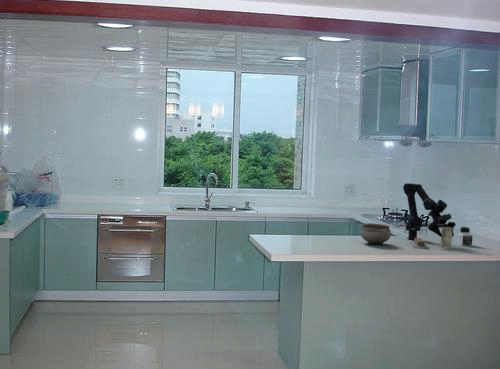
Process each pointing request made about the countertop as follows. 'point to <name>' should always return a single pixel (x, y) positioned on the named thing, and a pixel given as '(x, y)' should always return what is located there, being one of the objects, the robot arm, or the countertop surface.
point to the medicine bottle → (464, 237)
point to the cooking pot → (375, 233)
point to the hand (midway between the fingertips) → (447, 236)
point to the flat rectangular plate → (419, 243)
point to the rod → (446, 237)
